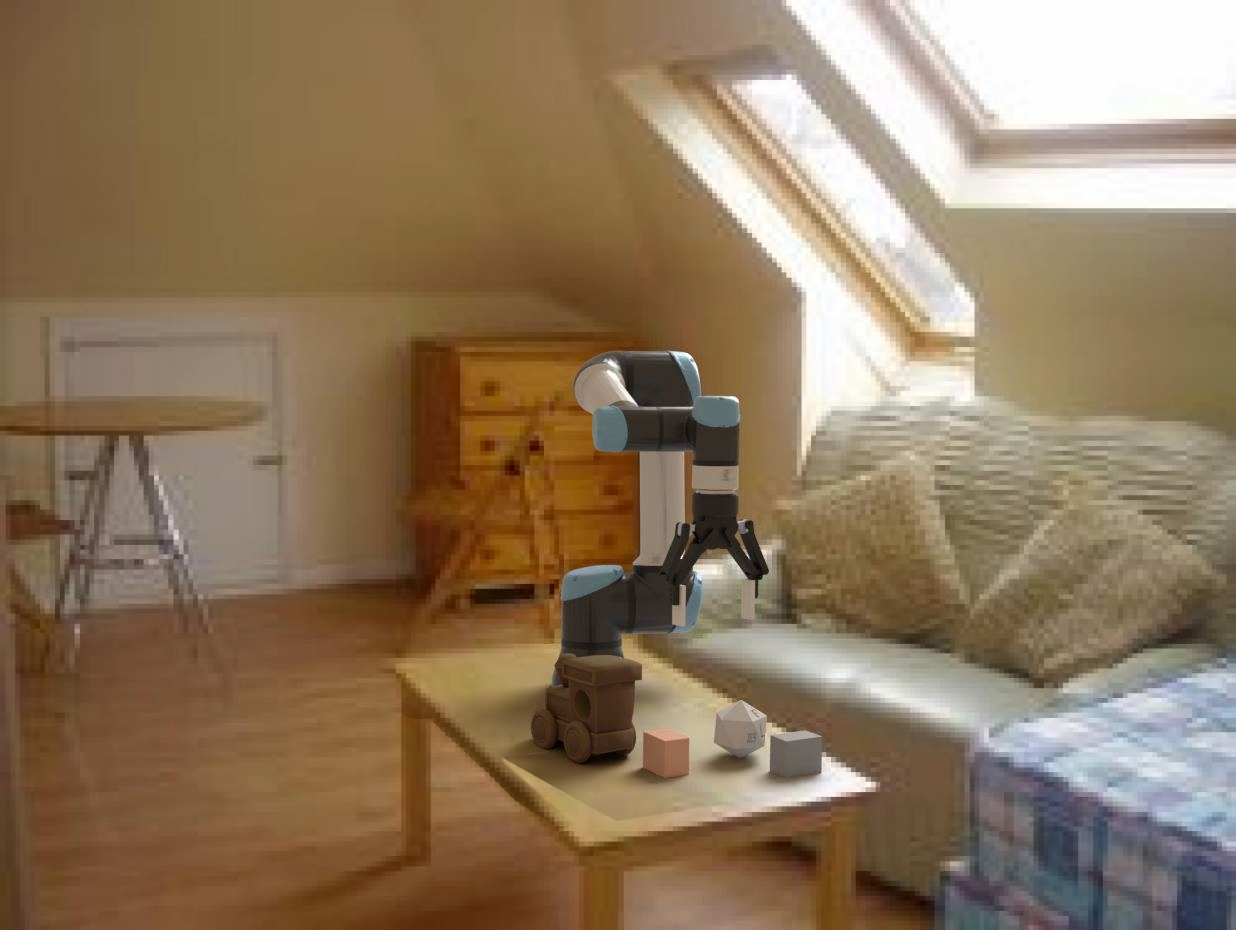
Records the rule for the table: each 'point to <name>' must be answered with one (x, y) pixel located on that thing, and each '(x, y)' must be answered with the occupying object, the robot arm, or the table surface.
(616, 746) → the wooden toy train
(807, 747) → the gray rectangular block
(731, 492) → the robot arm
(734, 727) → the die
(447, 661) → the table surface
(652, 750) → the salmon pink block
